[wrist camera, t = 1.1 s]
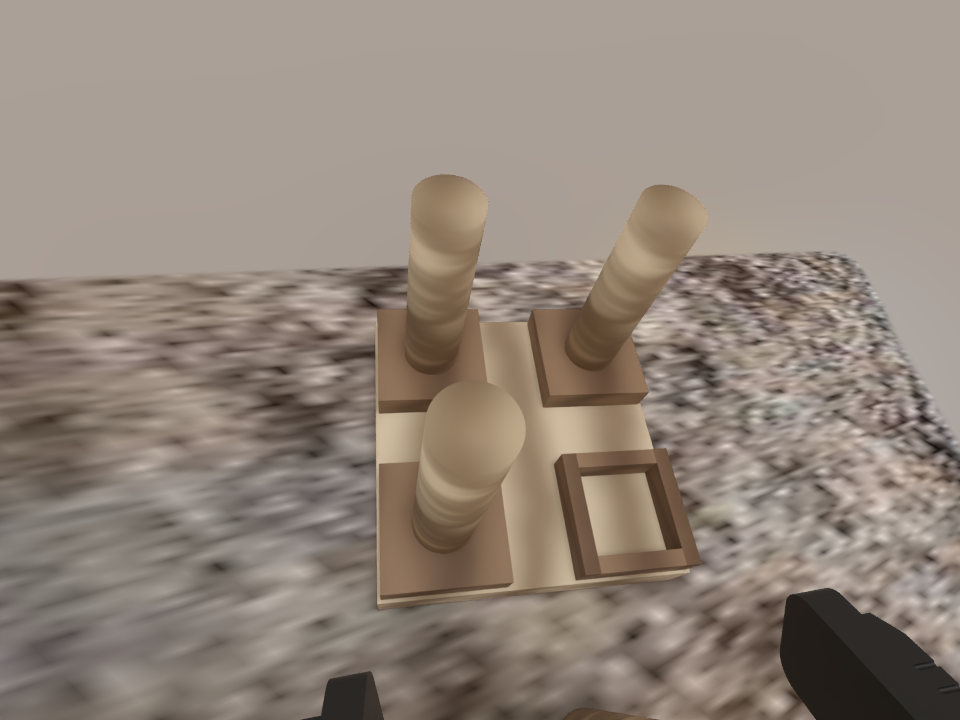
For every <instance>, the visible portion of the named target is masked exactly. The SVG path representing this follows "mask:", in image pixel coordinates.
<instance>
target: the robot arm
mask: <svg viewBox="0 0 960 720" xmlns="http://www.w3.org/2000/svg"><path fill="white" fill-rule="evenodd" d="M780 659H781V663H782V667H783V670H784V672H785V675H786V677H787V679H788V681H789V683H790V684H791V686H792V688H793V689H794V690H795V692H796V693H797V695H798V696H799V697H800V699H801V700H802V701H803V703H804V704H805V705H806V707H807V708H808V709H809V711H810V712H811V713H812V715H813V716H814V717H815V719H816V720H960V687H959V684H958V683H957V682H956V681H955V680H954V679H953V678H952V677H951V676H950V675H949V674H948V673H947V672H946V671H945V670H943V669H942V668H941V667H940V666H939V667H937V666H936V665H935V663H934V660H933V659H932V658H931V657H929V656H928V655H927V654H926V653H925V652H924V651H923V650H922V649H921V648H920V647H919V646H918V645H917V644H915V643H914V642H913V641H912V640H911V639H910V638H909V637H908V636H907V635H906V634H905V633H903V632H901V631H900V630H898V629H896V628H895V627H893V626H891V625H890V624H888V623H886V622H885V621H883V620H881V619H880V618H878V617H876V616H875V615H873V614H871V613H866V614H861V613H860V612H859V611H858V610H857V609H855V608H854V607H853V606H852V605H851V604H850V603H849V602H848V601H847V600H846V599H845V598H844V597H843V596H842V595H841V594H840V593H839V592H837V591H836V590H833V589H831V588H824V589H819V590H813V591H808V592H803V593H797V594H792V595H790V596H789V597H788V598H787V600H786V606H785V614H784V622H783V630H782V637H781V645H780ZM302 720H384V718H383V714H382V710H381V706H380V702H379V698H378V694H377V689H376V685H375V681H374V677H373V674H372V672H371V671H369V672H363V673H358V674H353V675H347V676H342V677H337V678H331V679H330V680H329V681H328V683H327V686H326V691H325V696H324V702H323V708H322V714H321V716H318V717H313V718H307V719H302Z"/></svg>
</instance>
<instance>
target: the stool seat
mask: <svg viewBox="0 0 960 720" xmlns="http://www.w3.org/2000/svg"><path fill="white" fill-rule="evenodd" d="M488 206H489V205H488V199H487V196H486V194H485V193H484V192H483V190H482V189H481V188H480V187H479V186H478V185H476V184H475V183H473V182H472V181H470V180H468V179H465V178H463V177H459V176H455V175H435V176H431V177H428V178H426V179H424V180H422V181H421V182H420V183H418V184H417V185H416V186H415V188H414V190H413V192H412V200H411V222H410V246H409V268H408V291H407V309H377V323H375V354H376V498H377V606H378V610H382V609H392V608H401V607H411V606H421V605H430V604H440V603H450V602H459V601H469V600H479V599H488V598H498V597H508V596H517V595H527V594H537V593H546V592H556V591H566V590H575V589H585V588H595V587H604V586H614V585H624V584H633V583H643V582H653V581H662V580H670V579H673V578H676V577H679V576H681V575H684V574H687V573H690V571H689V568H692V567H695V566H697V565H700V564H702V563H701V560H700V556H699V553H698V550H697V547H696V543H695V540H694V537H693V534H692V531H691V527H690V524H689V521H688V518H687V514H686V511H685V508H684V505H683V501H682V498H681V495H680V492H679V489H678V485H677V482H676V479H675V476H674V472H673V469H672V466H671V463H670V459H669V456H668V453H667V450H666V448H665V449H653V446H652V442H651V439H650V436H649V432H648V429H647V426H646V422H645V419H644V415H643V412H642V409H641V405H640V401H641V400H642V399H643V398H644V397H645V396H646V395H647V394H648V393H649V392H648V388H647V385H646V382H645V379H644V375H643V372H642V369H641V366H640V363H639V359H638V356H637V353H636V350H635V346H634V343H633V340H632V337H631V333H632V332H633V330H634V329H635V327H636V326H637V325H638V323H639V322H640V320H641V319H642V317H643V316H644V315H645V313H646V312H647V310H648V309H649V307H650V306H651V305H652V303H653V302H654V300H655V299H656V297H657V296H658V295H659V293H660V292H661V290H662V289H663V287H664V286H665V285H666V283H667V282H668V280H669V279H670V277H671V276H672V275H673V273H674V272H675V270H676V269H677V267H678V266H679V265H680V263H681V262H682V260H683V259H684V257H685V256H686V255H687V253H688V251H689V250H690V249H691V247H692V246H693V244H694V243H695V242H696V240H697V239H698V237H699V236H700V234H701V233H702V232H703V230H704V229H705V227H706V226H707V223H708V215H707V212H706V209H705V208H704V206H703V205H702V204H701V202H700V201H699V200H698V199H697V198H695V197H694V196H693V195H691V194H690V193H688V192H686V191H685V190H682V189H680V188H677V187H674V186H669V185H655V186H651V187H649V188H647V189H645V190H644V191H643V192H642V194H641V196H640V198H639V200H638V201H637V203H636V205H635V207H634V209H633V211H632V213H631V215H630V217H629V219H628V221H627V223H626V225H625V227H624V229H623V230H622V232H621V234H620V236H619V238H618V240H617V242H616V244H615V246H614V248H613V250H612V252H611V254H610V255H609V257H608V259H607V261H606V263H605V265H604V267H603V269H602V271H601V273H600V275H599V277H598V279H597V281H596V282H595V284H594V286H593V288H592V290H591V292H590V294H589V296H588V298H587V300H586V302H585V304H584V306H583V308H582V309H533V310H532V313H531V316H530V318H529V321H528V322H479V315H478V309H468V304H469V299H470V294H471V289H472V285H473V280H474V275H475V270H476V265H477V260H478V255H479V251H480V246H481V241H482V236H483V232H484V227H485V222H486V217H487V212H488Z"/></svg>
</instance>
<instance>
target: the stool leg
mask: <svg viewBox="0 0 960 720" xmlns="http://www.w3.org/2000/svg"><path fill="white" fill-rule="evenodd" d="M563 720H657V719H651V718H645V717H639V716H632V715H626V714H620V713H614V712H608V711H601V710H595V709H589V708H580V709H576V710H574V711H572V712H570V713H569V714H568V715H567V716H566V717H565V718H564V719H563Z"/></svg>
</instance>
